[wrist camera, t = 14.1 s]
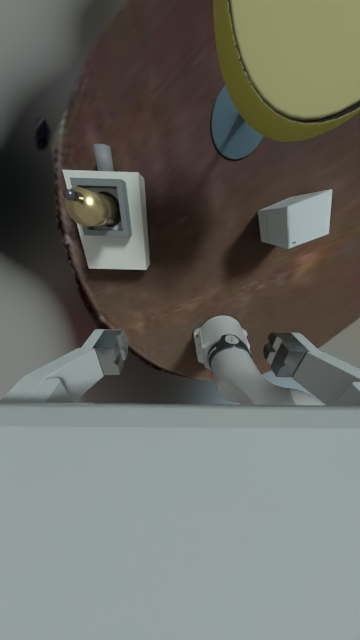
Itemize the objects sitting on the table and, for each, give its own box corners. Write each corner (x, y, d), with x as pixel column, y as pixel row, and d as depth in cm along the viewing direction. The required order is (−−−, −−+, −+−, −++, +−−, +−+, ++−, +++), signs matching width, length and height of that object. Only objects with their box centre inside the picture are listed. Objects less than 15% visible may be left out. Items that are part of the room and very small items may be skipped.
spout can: (121, 224, 35) (94, 227, 24) (97, 224, 35) (59, 227, 24) (116, 195, 32) (84, 183, 21) (91, 194, 32) (45, 182, 21)
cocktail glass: (239, 201, 38) (316, 180, 17) (174, 138, 32) (164, -15, 11) (310, 101, 30) (633, -185, 9) (240, -5, 24) (646, -1488, 3)
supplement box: (290, 230, 41) (329, 235, 30) (260, 242, 42) (287, 250, 32) (289, 196, 37) (334, 187, 27) (256, 210, 39) (286, 206, 28)
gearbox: (150, 264, 45) (144, 273, 37) (99, 262, 45) (82, 271, 37) (142, 153, 33) (131, 134, 26) (73, 151, 33) (41, 130, 26)
